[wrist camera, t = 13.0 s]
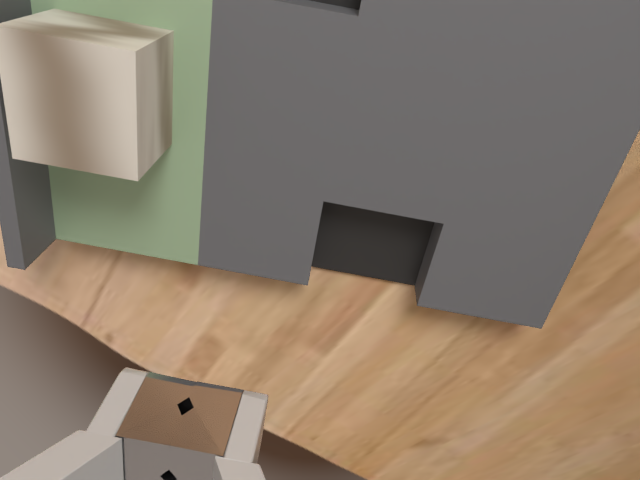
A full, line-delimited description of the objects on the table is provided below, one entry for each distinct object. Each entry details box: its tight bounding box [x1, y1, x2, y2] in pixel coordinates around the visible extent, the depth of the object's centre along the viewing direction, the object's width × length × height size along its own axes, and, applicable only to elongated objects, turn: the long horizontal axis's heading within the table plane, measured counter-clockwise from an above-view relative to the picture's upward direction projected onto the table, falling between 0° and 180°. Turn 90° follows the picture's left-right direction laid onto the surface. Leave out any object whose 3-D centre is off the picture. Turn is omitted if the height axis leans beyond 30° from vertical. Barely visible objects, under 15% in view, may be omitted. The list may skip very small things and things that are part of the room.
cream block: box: [0, 9, 174, 181], centre depth 26 cm, size 6×6×5 cm
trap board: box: [0, 0, 640, 329], centre depth 28 cm, size 32×22×6 cm
